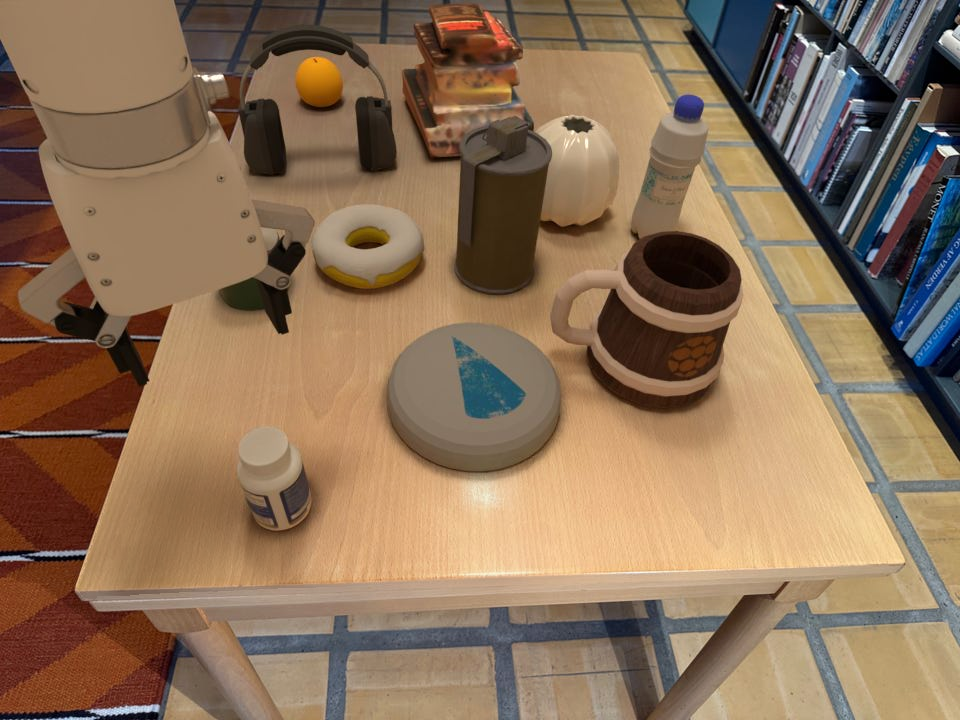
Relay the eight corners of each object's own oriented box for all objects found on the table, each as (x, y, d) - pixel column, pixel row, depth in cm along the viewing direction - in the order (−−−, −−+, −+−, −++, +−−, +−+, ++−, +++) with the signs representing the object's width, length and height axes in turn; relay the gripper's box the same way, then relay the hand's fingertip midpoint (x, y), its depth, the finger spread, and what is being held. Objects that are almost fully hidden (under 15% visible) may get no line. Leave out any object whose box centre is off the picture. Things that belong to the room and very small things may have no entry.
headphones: (394, 150, 103) (389, 17, 88) (398, 172, 99) (393, 36, 84) (249, 156, 99) (219, 18, 85) (247, 178, 95) (214, 37, 81)
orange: (346, 112, 111) (341, 68, 105) (298, 114, 109) (291, 69, 104) (343, 91, 116) (339, 48, 110) (298, 92, 114) (291, 49, 109)
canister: (495, 234, 90) (508, 93, 75) (549, 272, 85) (575, 130, 70) (435, 265, 84) (437, 120, 70) (489, 307, 80) (504, 161, 65)
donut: (434, 238, 88) (435, 207, 85) (408, 304, 79) (407, 273, 75) (336, 221, 89) (332, 190, 86) (299, 285, 80) (293, 253, 77)
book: (535, 157, 104) (550, 48, 92) (426, 166, 101) (426, 54, 88) (497, 92, 119) (505, -9, 107) (401, 98, 115) (398, -7, 103)
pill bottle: (307, 474, 62) (291, 412, 55) (317, 522, 59) (302, 463, 52) (249, 489, 61) (225, 427, 53) (256, 539, 57) (231, 480, 50)
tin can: (213, 309, 76) (197, 259, 71) (229, 266, 82) (215, 217, 76) (282, 311, 77) (271, 261, 71) (293, 268, 82) (284, 219, 77)
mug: (698, 320, 80) (741, 220, 69) (728, 417, 70) (784, 317, 59) (539, 312, 80) (557, 209, 69) (545, 408, 69) (568, 305, 58)
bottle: (631, 247, 90) (672, 109, 75) (622, 218, 94) (659, 83, 80) (678, 248, 90) (728, 111, 75) (667, 220, 95) (712, 85, 80)
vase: (496, 205, 95) (504, 118, 85) (560, 174, 101) (575, 90, 92) (565, 251, 88) (583, 162, 78) (629, 215, 95) (652, 129, 85)
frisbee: (507, 320, 78) (511, 289, 74) (592, 434, 67) (601, 404, 64) (362, 366, 72) (359, 334, 68) (430, 499, 61) (430, 470, 57)
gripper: (264, 56, 38) (306, 277, 51) (-80, 120, 32) (67, 357, 44) (314, 109, 34) (347, 336, 47) (-69, 196, 27) (89, 434, 40)
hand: (211, 346), depth 46 cm, fingers open, 9 cm apart
